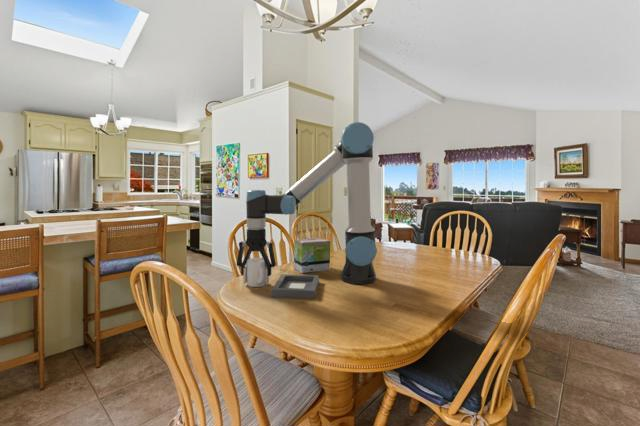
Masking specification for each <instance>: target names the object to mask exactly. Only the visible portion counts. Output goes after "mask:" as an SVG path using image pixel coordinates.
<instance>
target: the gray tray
mask: <svg viewBox="0 0 640 426" xmlns="http://www.w3.org/2000/svg"><path fill="white" fill-rule="evenodd" d="M319 283H320V275H319V274H317V275H316V274H289V273H288V274H287V273H286V274H283V273H281V275H280V276H279V278H278V279H277V280H276V281H275V283H274V284H273V287H272V288H271V298H277V299H279V298H283V299H285V298H286V299H287V298H288V299H309V300H310V299H314V300H316V296H317V292H318V287H319Z"/></svg>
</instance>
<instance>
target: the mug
mask: <svg viewBox="0 0 640 426" xmlns="http://www.w3.org/2000/svg"><path fill="white" fill-rule="evenodd" d="M246 266H247V283H246V284H247V286H249V287H251V288H262V287H265V286H266V284H265V269H266V268H267V266H266V263H265V261H264V259H263V257H252V258H249V259H248V260H247V263H246Z"/></svg>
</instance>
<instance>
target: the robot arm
mask: <svg viewBox="0 0 640 426" xmlns="http://www.w3.org/2000/svg"><path fill="white" fill-rule="evenodd" d="M374 140H375V139H374V133H373V129H371V127H370V126H369V125H368V124H365V123H364V122H359V121H357V122H356V121H355V122H352V123H349V124H348V125H347V126H346V127H345V128H344V129H343V130H342V132H341V136H340V140H339V142H338V143H337V144H336V145H335V146H334V147H333V151H332V152H330V153H329V154H328V155H327V156H326V157H325V158H324V159H322V161H320V162H318V163H317V165H315V166H314V167H313V168H312V169H311V170H310V171H308V172H307V173H306V174H305V175H304V176H303V177H301V178H300V180H298V181H297V182H296V183H295V184H294V185H292V186H291V187H290V188H289V189H287V190H286V191H285V192H284V193H283V194H281V195H280V194H278V195H275V194H274V195H271V194H270V195H269V194H267V193H266V190H264V189H263V190H262V189H249V190H247V191H246V201H245V203H246V228H247V229H246V240H245V241H242V240H241V241H239V242H238V247H239V250H238V254H237V255H238V256H237V260H236V267H240V273H241V276H243V285H245V284H247V260H248V259H250V256H251V254H252V252H259V253H260V254H261V258H263V259H264V261H265V263H266V266H267V268H266V269H265V284H266V285H268V284H269V283H270V278H269V277H270V276H272V268H274V267H275V266H277V265H276V258H275V253H274V252H275V251H274V242H273V241H271V242H270V241H267V239H266V238H267V237H266V224H267V223H266V219H267V218H266V215H270V214H272V215H285V216H287V215H294V214H295V212H296V208H297V206H298V205H299V204H300V203H301V202H303V201H304V200H305V199H306V198H307V197H309V196H310V195H311V194H312V193H313V192H314V191H316V190H317V189H318V188H319V187H320V186H322V184H324V183H325V182H326V181H328V179H330V178H331V177H333V176H334V174H336V173H337V172H338V171H339V170H340V169H342V168H343V167H344V166H345V165H346V182H347V184H346V185H347V186H346V187H347V209H348V210H347V212H348V226H347V227H346V229H345V230H344V231H345V232H344V235H345V248H344V249H345V250H344V253H345V261H344V265H343V268H342V271H341V275H340V277H341V278H340V279H341V281H343V282H345V283H348V284H352V285H353V284H354V285H367V284H368V285H369V284H373V283H375V282H376V281H377V280H376V279H377V274H376V271H375V268H374V265H373V264H374V263H373V261H374V260H375V258H376V257H377V254H378V249H377V244H376V229H375V228H374V227H373V226H372V222H371V221H372V220H371V219H372V218H371V217H372V216H371V213H372V212H371V190H370V189H371V187H370V185H371V184H370V183H371V182H370V181H371V180H370V163H371V162H372V160H374V158H373V157H374V155H373V154H374V151H373V146H374V145H373V144H374ZM265 246H267V249H268V253H269V256H268V254H267V252H266V249H265ZM245 247H247V252H246V254H245V256H244V251H245ZM243 256H244V259H243ZM266 285H265V286H266Z"/></svg>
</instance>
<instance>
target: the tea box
mask: <svg viewBox="0 0 640 426" xmlns="http://www.w3.org/2000/svg"><path fill="white" fill-rule="evenodd" d="M293 250H294V251H293V252H294V253H293V255H294V256H293V259H294V260H293V269H294V270H295V271H297V272H299V273H301V274H304V273H306V274H307V273H313V272H314V273H315V272H323V271H324V272H325V271H330V266H331V265H330V264H331V241H330V240H329V239H326V238H322V237H317V238H315V237H314V238H299V239H294V248H293Z"/></svg>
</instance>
